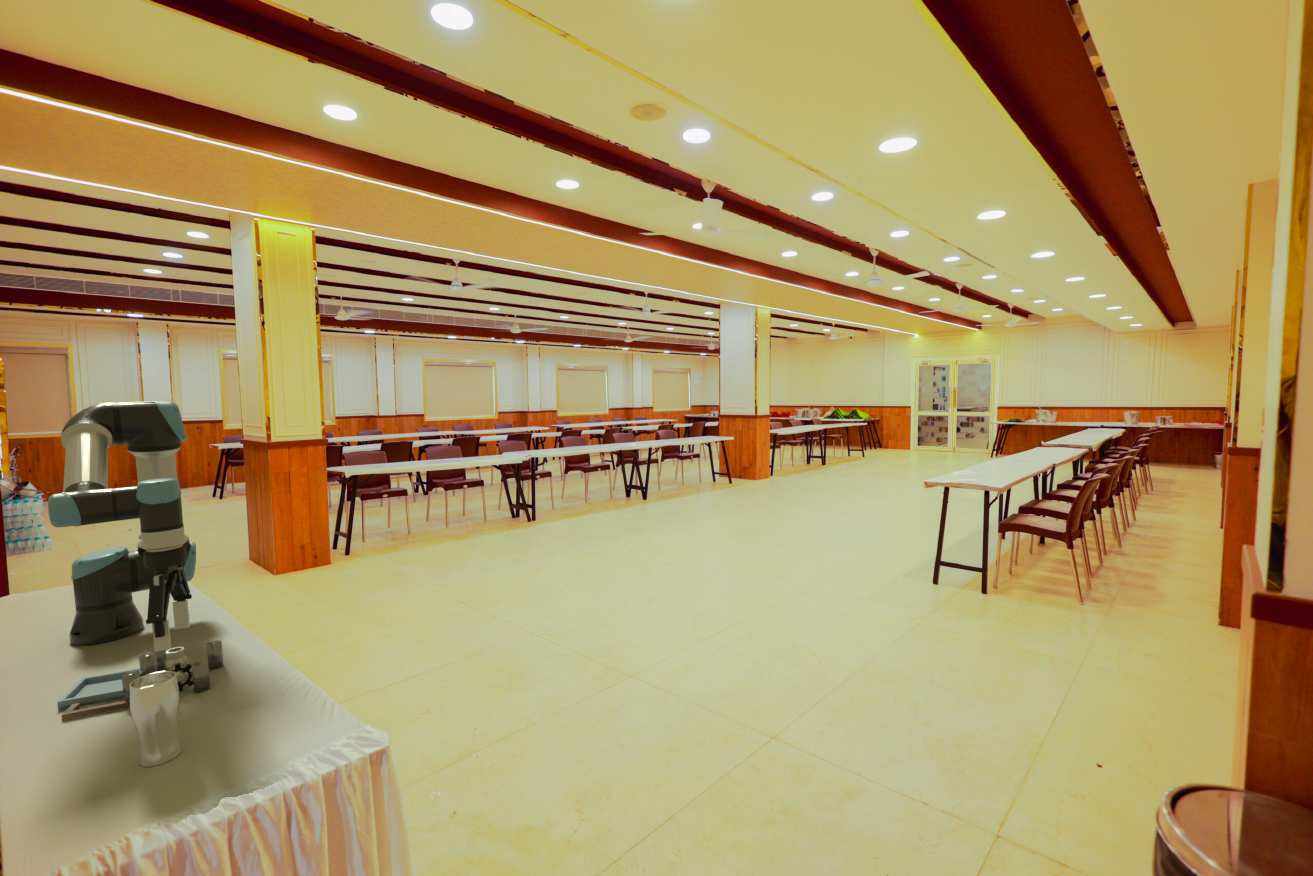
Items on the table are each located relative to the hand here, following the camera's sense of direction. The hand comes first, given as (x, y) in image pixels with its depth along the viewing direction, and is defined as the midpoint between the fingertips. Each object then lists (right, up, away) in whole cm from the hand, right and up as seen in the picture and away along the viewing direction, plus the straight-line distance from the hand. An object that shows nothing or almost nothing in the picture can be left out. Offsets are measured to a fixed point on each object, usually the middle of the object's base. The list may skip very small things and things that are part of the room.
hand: (173, 638), depth 136 cm
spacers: (-1, -11, +3) cm, 11 cm away
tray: (-14, -11, -2) cm, 18 cm away
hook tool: (-6, -12, -9) cm, 16 cm away
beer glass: (+19, -13, -26) cm, 35 cm away
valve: (0, -11, +2) cm, 11 cm away
